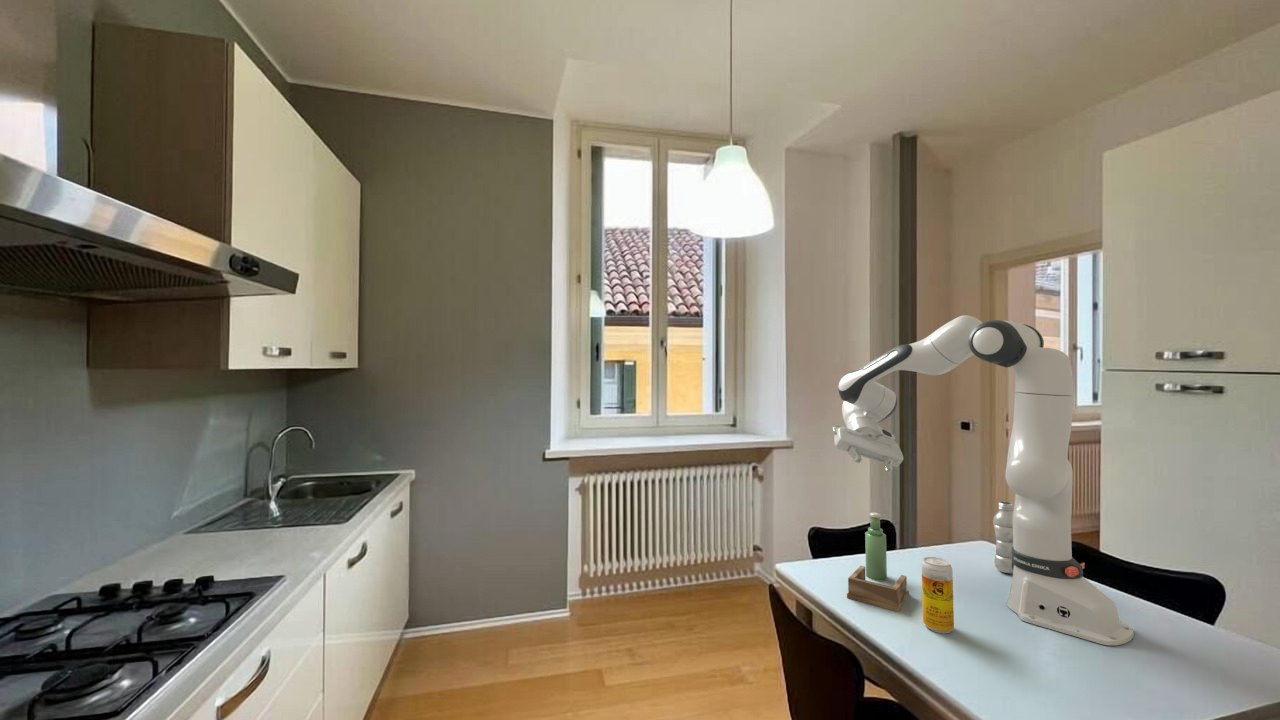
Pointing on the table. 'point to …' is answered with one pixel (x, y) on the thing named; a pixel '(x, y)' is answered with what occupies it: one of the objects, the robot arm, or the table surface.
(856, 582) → the tray
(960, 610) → the table surface
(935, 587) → the beer can
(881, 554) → the bottle
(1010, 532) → the plastic bottle
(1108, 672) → the table surface
